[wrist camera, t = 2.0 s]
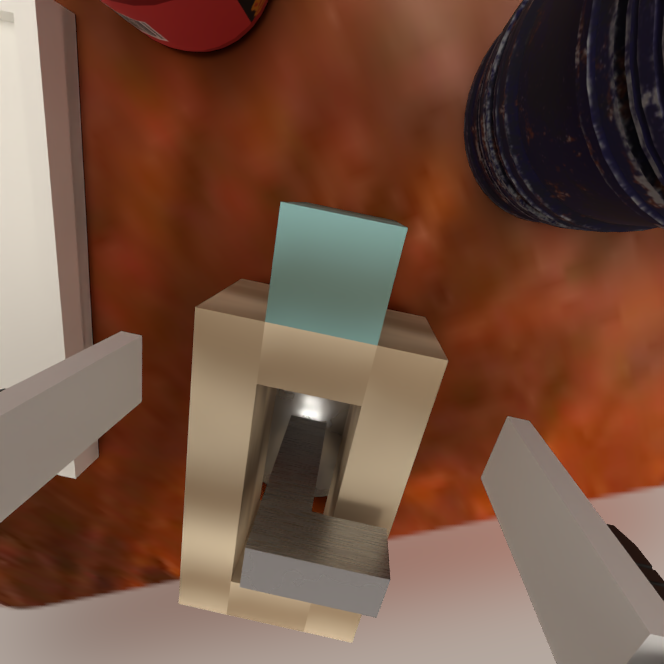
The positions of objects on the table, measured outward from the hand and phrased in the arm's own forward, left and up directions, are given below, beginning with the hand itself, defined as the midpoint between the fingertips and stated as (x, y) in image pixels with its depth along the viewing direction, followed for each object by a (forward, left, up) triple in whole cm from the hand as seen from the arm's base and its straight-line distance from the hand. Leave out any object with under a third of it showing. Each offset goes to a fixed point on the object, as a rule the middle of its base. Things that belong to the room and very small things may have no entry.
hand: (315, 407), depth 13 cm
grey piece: (0, -5, -9) cm, 10 cm away
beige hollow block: (0, -3, -6) cm, 7 cm away
